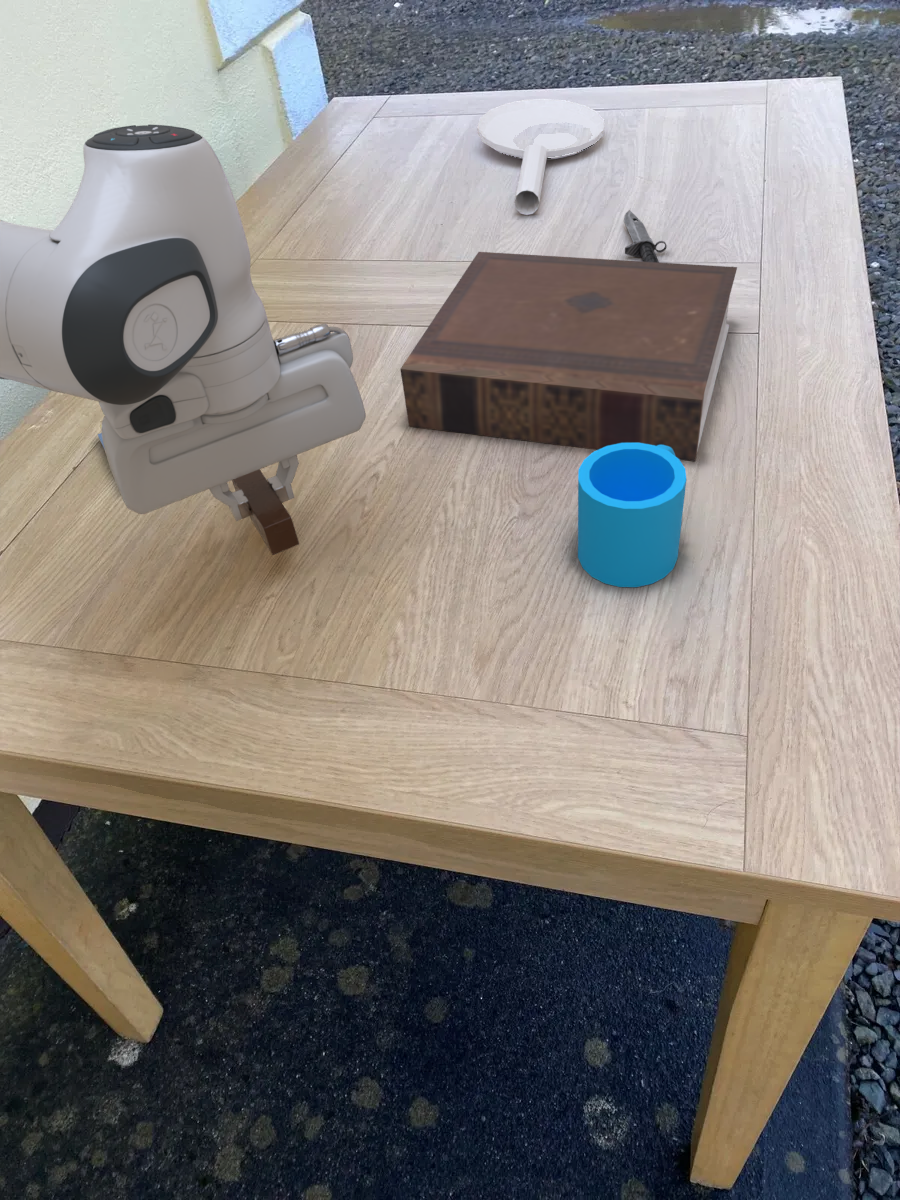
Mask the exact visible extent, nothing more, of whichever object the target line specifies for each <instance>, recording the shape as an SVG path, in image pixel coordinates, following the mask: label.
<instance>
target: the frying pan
mask: <svg viewBox="0 0 900 1200" xmlns="http://www.w3.org/2000/svg"><path fill="white" fill-rule="evenodd" d="M558 122H559V123H562V122H563V123H565V122H567V123H572V124H573V123H574V124H578V125H579V124H580V125H583V127H586V128H590V131H591V133H592V135H593V136H591V139H589V142H586V143H584V144H582V145H580V146H576V147H571V148H566V149H562V150H556V151H547V149H557V148H565V147H567V146H570V145H572V144H574V143H575V142H576V141H577V138H576V137H575V136H573V135H571V134H569V133H556V134H539V135H538V136H537V137H536V138H535V139H534V143H533V145H529V146H527V147H526V148H525V150H523V149H519V147H517V146H516V144H515V143H514V142H513V139H514V137H515V135H516V137H517V135H519V133H521V132H523V130H525V129H527V128H528V127H530V126H531V127H532V126H534V125H539V124H547V123H558ZM476 128H477V129H476V130H477V133H476V134H477V135H478V137H479V138H480V140H481V142H482V143H483V144H485V145H487V146H488V147H490V148H492V149H493V150H495V151H496V152H498V153H499V154H502V153H503V154H502V155H505V154H506V156H509V155H511V156H510V157H512V156H514V157H513V158H516V157H521V158H520V159H522V160H521V166H520V171H519V177H518V182H517V186H516V191H515V196H514V202H513V203H514V207H515V210H516V211H517V212H519V214H522V215H525V216H528V215H533V214H534V213H535V212H536V211H537V210H538V209H539V205H540V203H541V202H540V201H541V196H542V189H543V183H544V178H545V170H546V165H547V160H548V159H547V158H548V157H555V156H562V155H565V154H569V153H573V152H578V151H580V150H582V149H584V148H587V147H589V146H591V145H593V144H595V143H596V142H597V141H598V142H599V141H600V140H601V139H602V138H603V137H604V133H605V132H604V131H605V119H604V118H603V117H602V115H601V114H600V113H599V111H597V110H595V109H594V108H591V107H589V106H588V105H585V104H582V103H578V102H575V101H571V100H568V99H567V100H566V99H557V98H530V99H521V100H520V99H519V100H516V101H511V102H506V103H502V104H501V105H498V106H496V107H493V108H490V109H489V110H488V111H486V112H485V113H484V114H482V115H481V116H480V117H479V120H478V123H477V127H476ZM598 142H597V143H598ZM597 143H596V144H597ZM596 144H595V145H596ZM593 146H594V145H593ZM591 147H592V146H591ZM589 148H590V147H589ZM589 148H587V149H589ZM587 149H585V150H582V151H580V152H578V153H575V154H571V155H567V156H562V157H558V158H551V159H550V160H556V159H563V158H566V157H571V156H575V155H577V154H579V153H581V152H584V151H586V150H587Z"/></svg>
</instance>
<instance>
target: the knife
mask: <svg viewBox="0 0 900 1200" xmlns="http://www.w3.org/2000/svg"><path fill="white" fill-rule="evenodd" d="M623 222H624V224H625V227H626V229H627V232H628V234H629V236H630V239H631V241H632V243H631V244H629V245H627V246H625V247H624V254H625V255H627V256H630V257H635V258H642V262H659V263H660V260H659V259H658V256H657V254H656V252H657V253H663V252H665V251H666V250H667V247H668V245H667V243H666V242H665V241H664V240H659V241H657V242H656V243H654V242H653V240H652V238H651V237H650V235H649V232H648V231H647V228H646V226H645V225H644V222H642V221H641V219H639V217H637V216H636V215H635V214H634V213H633V211H631V209H629V210H627V211H626V212H625V214H624V217H623ZM660 244H664V247H663V248H661V249H657V246H658V245H660Z"/></svg>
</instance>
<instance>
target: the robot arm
mask: <svg viewBox="0 0 900 1200" xmlns="http://www.w3.org/2000/svg"><path fill="white" fill-rule="evenodd" d="M82 147H83V148H82V149H83V150H82V152H83V153H82V154H83V161H84V169H83V173H82V177H81V180H80V184H79V186H78V190H77V193H76V195H75V197H74V198H73V201H72V203H71V205H70V207H69V209H68V210H67V212H66V214H65V215H64V216H63V218H62V220H61V221H60V222H59V224H58V225H56V227H54V229H48V228H43V227H42V228H41V227H36V226H30V225H23V224H18V223H14V222H9V221H6V220H2V219H0V380H8V381H12V382H17V383H21V384H25V385H28V386H32V387H35V388H40V389H44V390H48V391H52V392H55V393H60V394H66V395H69V396H73V397H77V398H82V399H85V400H90V401H94V402H98V404H99V407H100V409H101V411H102V413H103V415H104V416H103V418H102V421H101V425H102V427H101V428H100V431H101V432H100V433H102V439H103V444H104V448H105V450H104V452H105V455H106V459H107V462H108V465H109V469H110V471H111V474H112V477H113V480H114V482H115V485H116V486H117V490H118V491H119V494H120V497H121V498H122V499H121V500H122V501H123V503H124V504H125V505H124V506H125V507H126V509H128V510H129V511H132V512H133V513H136V514H139V515H145V514H149V513H151V512H154V511H157V510H159V509H161V508H164V507H167V506H170V505H172V504H174V503H177V502H179V501H182V500H185V499H187V498H189V497H193V496H195V495H197V494H200V493H202V492H205V491H207V490H209V491H210V493H211V495H212V497H213V498H215V499H216V500H218V501H219V502H220V503H222V504H224V505H225V506H228V509H229V510H230V513H231V515H232V517H233V519H234V520H235V522H239V521H241V520H244V519H246V518H248V517H249V516H251V515H252V512H251V510H250V506H249V501H248V499H247V498H246V496H245V495H244V493H243V491H242V490H238V491H233V492H232V491H231V490H230V487H229V482H232V480H233V479H236V478H238V477H241V476H244V475H246V474H249V473H251V472H254V471H256V470H259V469H260V470H261V469H265V468H267V467H269V466H272V465H274V464H277V463H278V464H277V469H276V473H275V475H274V476H271V477H269V478H266V480H267V481H268V483H269V485H270V486H271V487H272V489H273V491H274V492H275V494H276V495H277V496H278V498H279V499H280V501H281V502H282V504H283V503H285V502H288V501H291V500H293V499H295V494H294V490H293V487H292V483H293V482H294V479H295V475H296V472H297V470H298V467H299V464H300V462H299V457H298V455H300V454H303V453H305V452H308V451H310V450H313V449H315V448H318V447H320V446H323V445H325V444H328V443H331V442H333V441H336V440H338V439H341V438H344V437H346V436H348V435H352V434H354V433H357V432H358V431H360V430H361V428H362V427H363V424H364V422H365V420H366V417H367V414H366V410H365V405H364V402H363V399H362V396H361V392H360V390H359V387H358V384H357V381H356V379H355V377H354V374H353V373H352V370H351V367H352V365H353V361H354V355H353V349H352V344H351V338H350V336H349V335H348V333H347V332H346V331H345V330H344V329H343V328H341V327H339V326H329V325H328V323H320V324H316V325H314V326H311V327H310V328H309V329H306V330H304V331H299V332H295V333H291V334H288V335H284V336H282V337H279V338H276V339H274V338H273V334H272V331H271V327H270V323H269V318H268V315H267V311H266V308H265V305H264V303H263V301H262V299H261V297H260V295H259V294H258V292H257V291H256V289H255V286H254V284H253V280H252V276H251V275H252V274H251V263H252V261H251V251H250V247H249V243H248V240H247V236H246V232H245V229H244V226H243V221H242V218H241V215H240V211H239V208H238V205H237V202H236V199H235V196H234V193H233V190H232V188H231V184H230V182H229V179H228V176H227V175H226V173H225V170H224V168H223V166H222V163H221V161H220V159H219V157H218V155H217V154H216V152H215V150H214V148H213V147H212V146H211V145H210V143H209V142H208V140H207V139H206V138H205V137H204V136H203V135H201V134H199V133H197V132H196V131H195V130H192V129H190V128H185V127H180V126H173V125H164V124H147V125H146V124H145V125H136V124H132V125H126V126H119V127H113V128H110V129H109V128H108V129H105V130H103V131H99V132H97V133H95V134H94V135H93V136H92V137H90V138H88V139H87V140H86V141H85V142H84V144H83V146H82ZM104 448H103V449H104ZM249 518H250V517H249Z"/></svg>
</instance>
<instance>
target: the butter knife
mask: <svg viewBox="0 0 900 1200" xmlns="http://www.w3.org/2000/svg"><path fill="white" fill-rule="evenodd" d="M231 482H232V485H233V488H234V492H236V491H238V490H242V491H243V493H244V495H245V496H246V498H247V499H248V501H249V506H250V510H251V512H252V515H251V516H249V519H250V520H251V522H252V524H253V526H254V527H255V529H256V531H257V532H258V534H259V535H260V537H261V538H262V540H263V542H264V544H265V545H266V548H268V550H269V552H270V554H271V555H272V556H275V555H277V554H280V553H282V552H284V551H287V550H289V549H292V548H294V547H296V546H299V545H300V541H299V539H298V534H297V532H296V527H295V525H294V521H293V518H292V516H291V515H290V513H289V511H288V510H287V508H286V507H285V505H284V504H283V503H282V502H281V501H280V499H279V498H278V496H277V495H276V494H275V492H274V491H273V489H272V487H271V486H270V485H269V483H268V480H267V478H266V477H265V475H264V473H263V472H262V470H261V469H259V470H256V471H254V472H251V473H249V474H246V475H244V476H241V477H238V478H236V479H233V480H231Z"/></svg>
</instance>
